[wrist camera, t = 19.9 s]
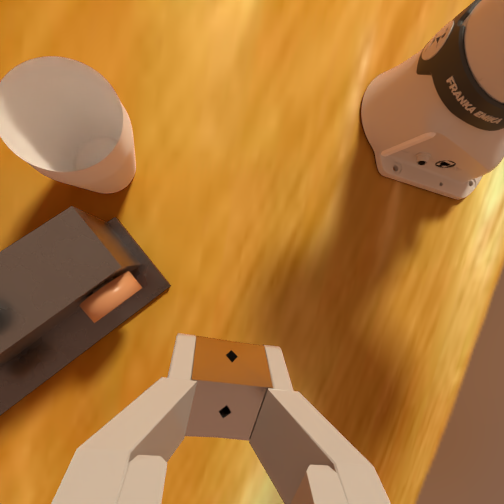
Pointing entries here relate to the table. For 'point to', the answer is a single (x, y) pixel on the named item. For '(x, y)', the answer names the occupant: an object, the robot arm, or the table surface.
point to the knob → (110, 296)
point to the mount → (63, 295)
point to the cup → (67, 124)
